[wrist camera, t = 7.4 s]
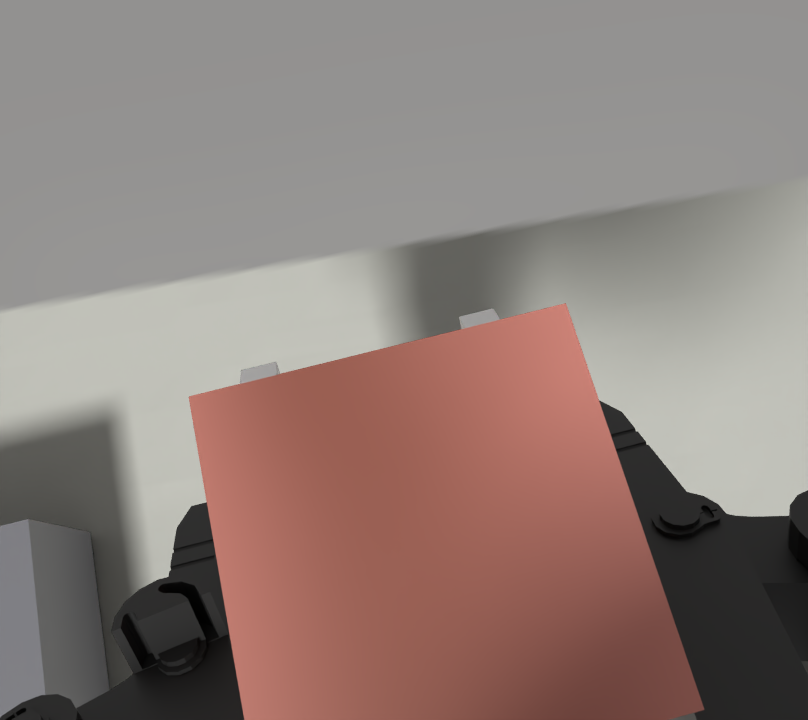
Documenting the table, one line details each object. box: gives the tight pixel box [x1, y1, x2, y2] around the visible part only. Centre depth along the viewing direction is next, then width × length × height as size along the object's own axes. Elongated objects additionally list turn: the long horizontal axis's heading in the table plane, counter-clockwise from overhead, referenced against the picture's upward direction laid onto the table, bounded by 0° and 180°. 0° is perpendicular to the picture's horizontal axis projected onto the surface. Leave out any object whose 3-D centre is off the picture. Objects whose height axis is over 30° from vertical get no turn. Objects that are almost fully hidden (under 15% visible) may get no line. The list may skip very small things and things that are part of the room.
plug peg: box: [189, 303, 704, 720], centre depth 13 cm, size 4×4×12 cm
